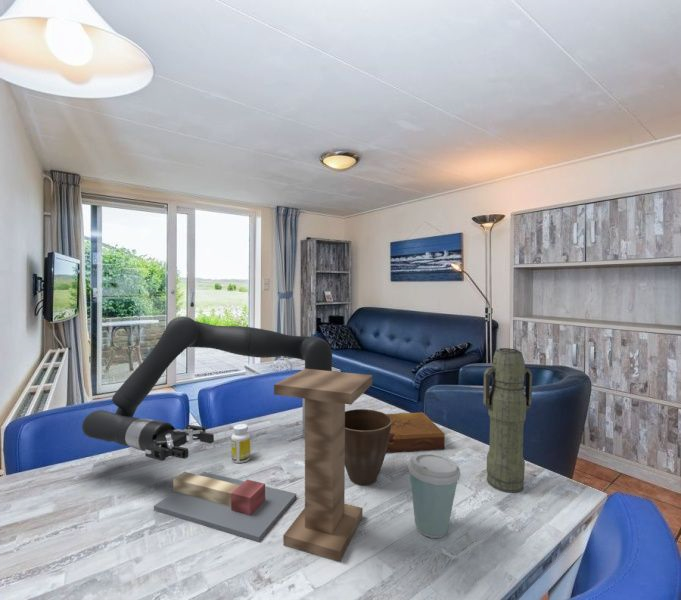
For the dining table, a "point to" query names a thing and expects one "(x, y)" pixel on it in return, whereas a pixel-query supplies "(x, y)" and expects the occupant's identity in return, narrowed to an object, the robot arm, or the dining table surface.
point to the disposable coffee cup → (433, 492)
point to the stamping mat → (228, 511)
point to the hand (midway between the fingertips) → (200, 446)
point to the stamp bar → (222, 491)
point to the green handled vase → (507, 418)
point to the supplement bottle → (240, 444)
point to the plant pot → (365, 444)
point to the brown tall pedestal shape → (324, 461)
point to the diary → (414, 433)
